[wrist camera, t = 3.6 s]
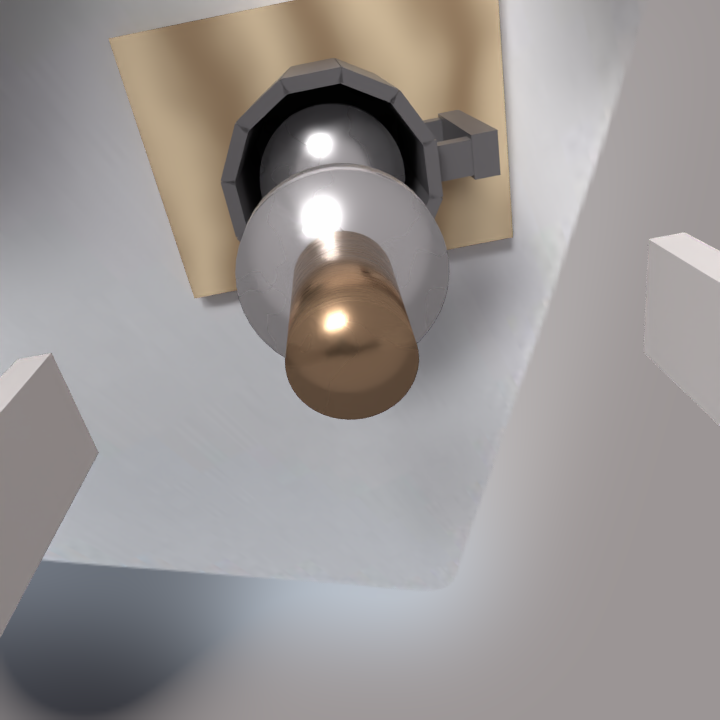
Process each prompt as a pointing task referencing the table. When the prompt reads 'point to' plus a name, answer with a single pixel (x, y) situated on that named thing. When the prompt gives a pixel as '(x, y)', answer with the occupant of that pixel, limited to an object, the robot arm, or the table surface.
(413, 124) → the dark grey mug
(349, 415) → the plunger
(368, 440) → the table surface
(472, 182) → the board
